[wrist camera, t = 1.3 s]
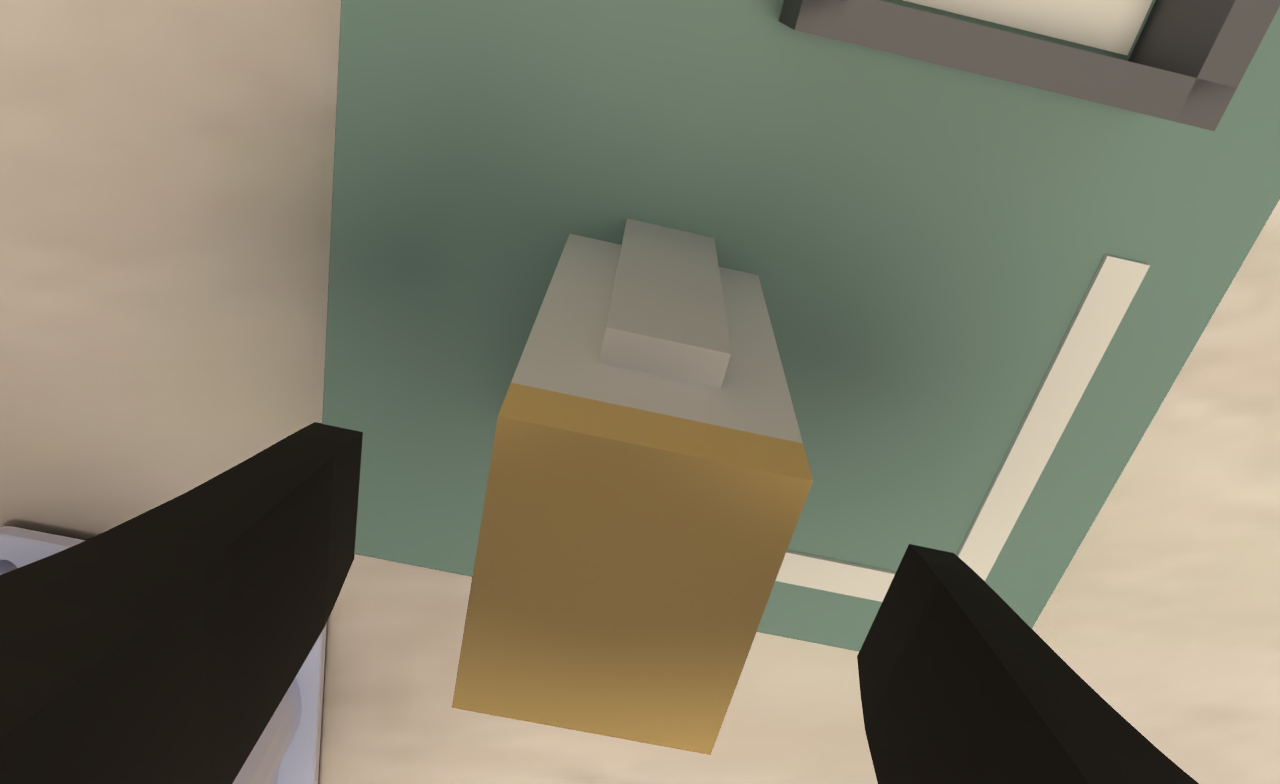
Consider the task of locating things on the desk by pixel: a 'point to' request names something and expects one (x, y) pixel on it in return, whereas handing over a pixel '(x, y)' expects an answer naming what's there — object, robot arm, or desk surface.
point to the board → (808, 246)
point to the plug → (634, 497)
